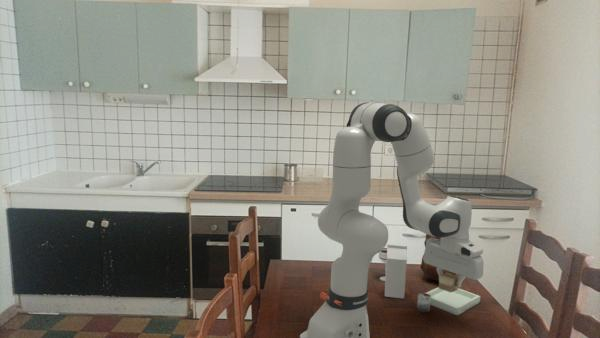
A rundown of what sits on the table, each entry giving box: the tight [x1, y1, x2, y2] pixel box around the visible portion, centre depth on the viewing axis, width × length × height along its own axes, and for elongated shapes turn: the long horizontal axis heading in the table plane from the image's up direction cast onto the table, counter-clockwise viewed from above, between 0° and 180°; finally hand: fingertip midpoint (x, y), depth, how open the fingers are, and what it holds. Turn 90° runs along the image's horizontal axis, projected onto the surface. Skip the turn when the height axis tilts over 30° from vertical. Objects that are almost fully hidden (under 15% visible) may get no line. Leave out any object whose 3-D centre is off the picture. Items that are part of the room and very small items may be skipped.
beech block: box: [438, 273, 460, 293], centre depth 146 cm, size 4×4×4 cm
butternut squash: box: [420, 234, 457, 283], centre depth 177 cm, size 14×13×25 cm
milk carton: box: [384, 244, 408, 299], centre depth 163 cm, size 7×7×19 cm
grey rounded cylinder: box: [416, 292, 431, 313], centre depth 152 cm, size 4×4×5 cm
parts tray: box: [425, 286, 481, 316], centre depth 159 cm, size 16×14×2 cm
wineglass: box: [378, 247, 387, 282], centre depth 178 cm, size 7×7×12 cm
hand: (449, 283), depth 147 cm, fingers closed on beech block, 4 cm apart
